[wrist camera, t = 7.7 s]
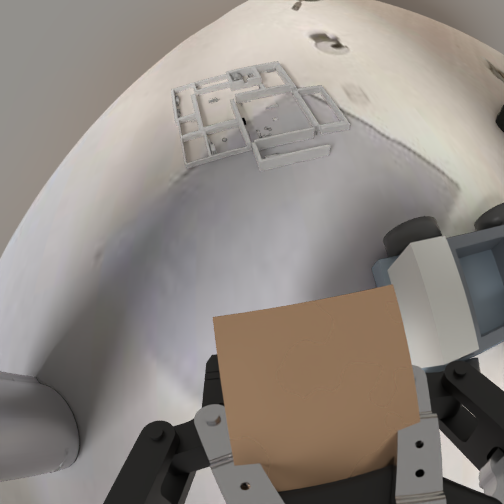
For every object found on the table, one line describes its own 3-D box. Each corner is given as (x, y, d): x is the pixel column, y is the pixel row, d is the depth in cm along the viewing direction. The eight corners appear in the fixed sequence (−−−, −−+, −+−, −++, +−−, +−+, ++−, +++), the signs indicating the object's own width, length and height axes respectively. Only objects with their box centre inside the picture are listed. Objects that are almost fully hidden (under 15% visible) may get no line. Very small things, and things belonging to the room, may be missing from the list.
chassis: (402, 401, 19) (443, 407, 13) (366, 251, 25) (390, 209, 18) (536, 334, 19) (579, 318, 12) (500, 222, 24) (534, 188, 18)
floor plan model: (404, 144, 30) (408, 132, 28) (188, 195, 29) (183, 184, 28) (336, 62, 38) (337, 52, 36) (172, 95, 37) (169, 85, 35)
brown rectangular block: (260, 430, 15) (239, 495, 6) (247, 349, 17) (212, 317, 8) (345, 414, 15) (423, 452, 6) (331, 334, 17) (393, 284, 8)
